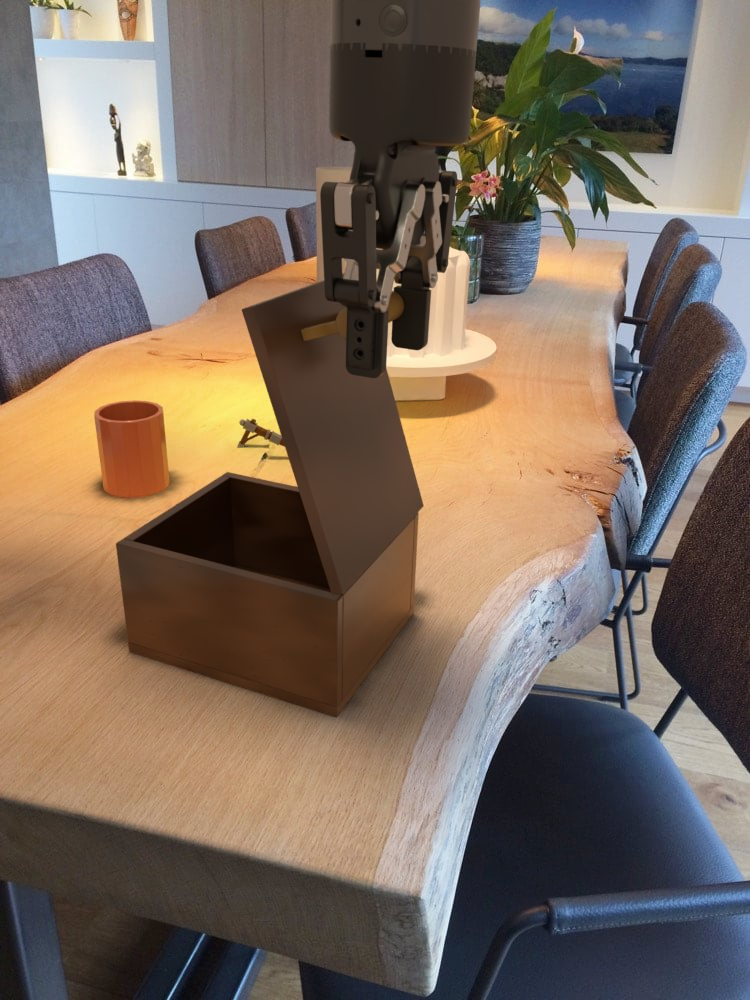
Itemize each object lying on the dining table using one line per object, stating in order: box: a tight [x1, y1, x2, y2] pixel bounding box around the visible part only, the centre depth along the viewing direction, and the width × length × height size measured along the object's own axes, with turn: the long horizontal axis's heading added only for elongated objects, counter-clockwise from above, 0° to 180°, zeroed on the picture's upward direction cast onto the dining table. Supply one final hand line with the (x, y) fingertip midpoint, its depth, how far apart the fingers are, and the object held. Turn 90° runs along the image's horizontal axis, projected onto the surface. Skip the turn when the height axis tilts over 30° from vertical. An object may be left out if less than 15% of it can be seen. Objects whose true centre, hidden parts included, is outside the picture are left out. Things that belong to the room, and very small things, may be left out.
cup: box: [93, 399, 171, 499], centre depth 81 cm, size 6×6×9 cm
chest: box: [115, 471, 420, 718], centre depth 60 cm, size 17×14×9 cm
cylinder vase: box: [315, 166, 352, 283], centre depth 167 cm, size 12×12×25 cm
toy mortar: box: [236, 418, 285, 459], centre depth 92 cm, size 2×8×4 cm, turn 93°
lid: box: [241, 273, 424, 595], centre depth 52 cm, size 17×14×5 cm
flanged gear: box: [345, 246, 497, 402], centre depth 112 cm, size 25×25×19 cm
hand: (388, 359), depth 50 cm, fingers closed on lid, 6 cm apart
